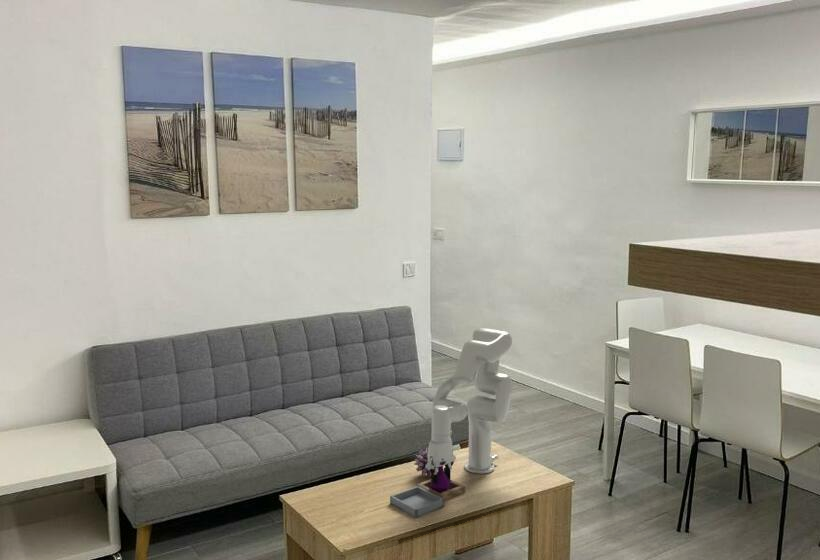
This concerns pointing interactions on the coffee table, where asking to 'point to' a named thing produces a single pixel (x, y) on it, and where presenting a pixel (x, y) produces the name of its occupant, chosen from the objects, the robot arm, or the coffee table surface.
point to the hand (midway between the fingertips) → (440, 480)
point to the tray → (417, 501)
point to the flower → (422, 462)
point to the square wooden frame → (445, 495)
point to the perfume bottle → (441, 481)
